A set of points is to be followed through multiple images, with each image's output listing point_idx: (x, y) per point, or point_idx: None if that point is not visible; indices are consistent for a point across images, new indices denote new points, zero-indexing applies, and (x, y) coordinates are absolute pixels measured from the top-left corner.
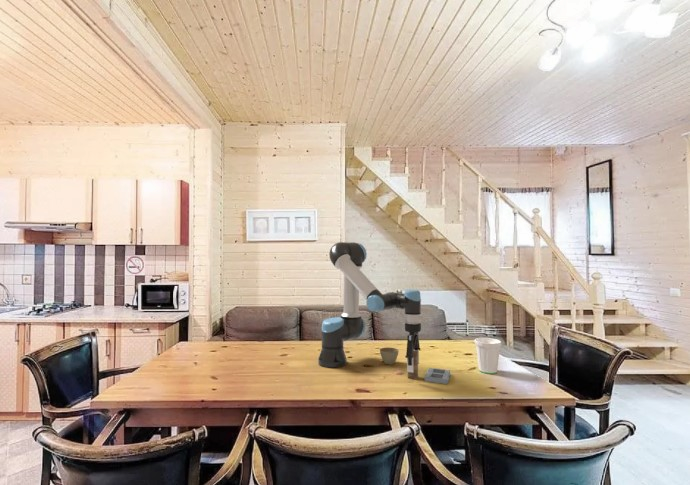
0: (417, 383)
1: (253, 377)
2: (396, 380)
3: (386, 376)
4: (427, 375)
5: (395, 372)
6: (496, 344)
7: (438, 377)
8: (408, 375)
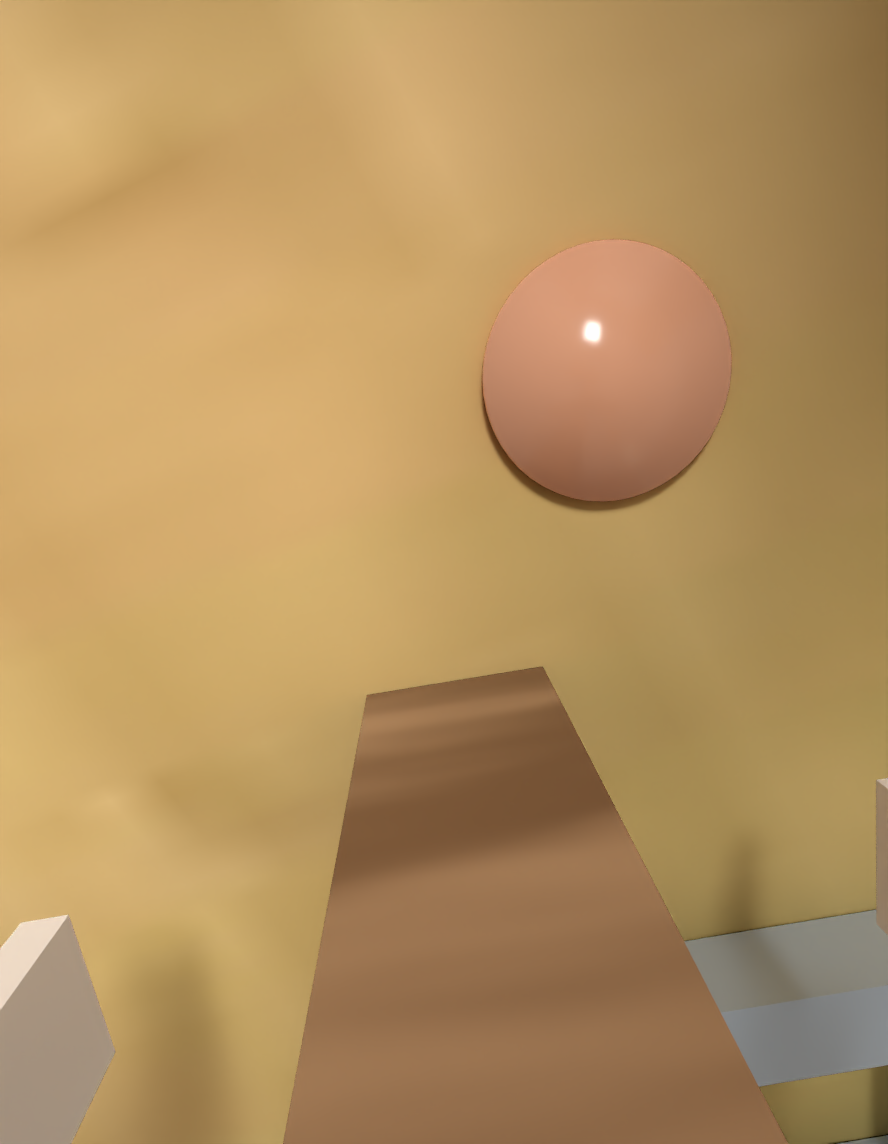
0: (203, 931)
1: None
2: (94, 546)
3: (188, 223)
4: None
5: (546, 322)
6: None
7: None
8: (364, 734)
